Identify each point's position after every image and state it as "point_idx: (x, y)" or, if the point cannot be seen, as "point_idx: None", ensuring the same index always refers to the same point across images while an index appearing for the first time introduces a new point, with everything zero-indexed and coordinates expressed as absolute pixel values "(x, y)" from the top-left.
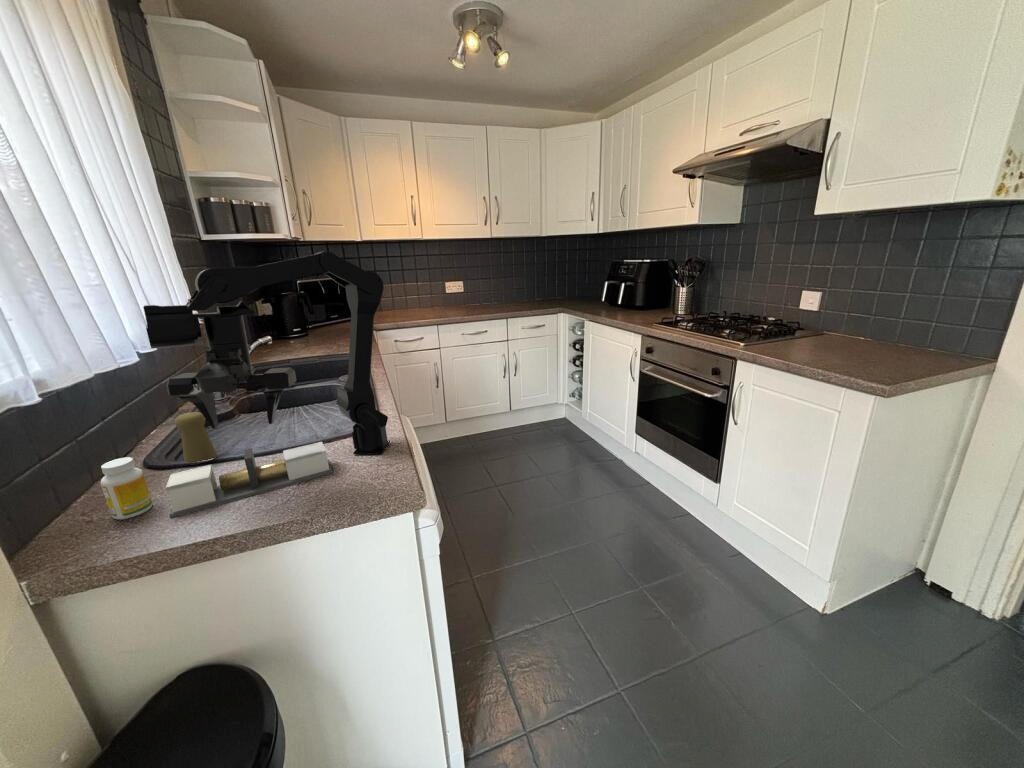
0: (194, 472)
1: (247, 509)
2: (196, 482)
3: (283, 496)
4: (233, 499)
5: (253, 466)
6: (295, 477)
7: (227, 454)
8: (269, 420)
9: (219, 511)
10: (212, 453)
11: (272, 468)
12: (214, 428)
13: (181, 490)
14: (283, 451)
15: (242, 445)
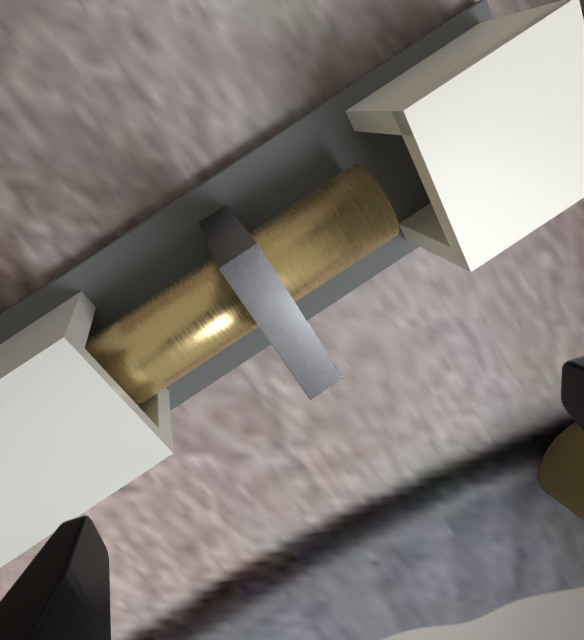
0: (512, 180)
1: (145, 34)
2: (450, 75)
3: (24, 154)
4: (275, 134)
5: (214, 249)
6: (55, 311)
7: (512, 498)
8: (59, 545)
9: (283, 34)
10: (559, 480)
11: (160, 313)
12: (570, 362)
13: (497, 38)
14: (163, 444)
15: (492, 560)
